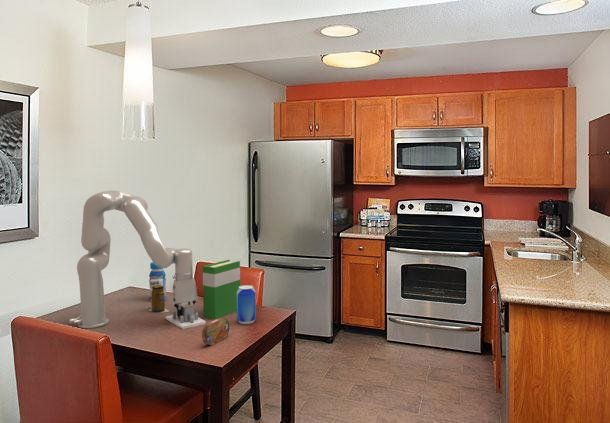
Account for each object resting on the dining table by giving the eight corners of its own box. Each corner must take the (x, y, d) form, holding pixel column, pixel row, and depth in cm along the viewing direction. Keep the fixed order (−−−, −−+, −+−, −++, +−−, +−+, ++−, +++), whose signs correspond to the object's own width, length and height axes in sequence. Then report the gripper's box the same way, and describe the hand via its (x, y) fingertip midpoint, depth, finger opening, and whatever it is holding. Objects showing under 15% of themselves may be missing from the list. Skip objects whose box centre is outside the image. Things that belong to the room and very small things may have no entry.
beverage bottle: (170, 299, 246) (168, 261, 244) (157, 303, 239) (156, 264, 237) (159, 296, 251) (158, 260, 249) (146, 300, 244) (145, 262, 242)
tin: (207, 348, 180) (206, 327, 179) (200, 346, 181) (200, 325, 181) (230, 335, 193) (229, 315, 193) (224, 334, 195) (223, 314, 194)
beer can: (238, 325, 205) (237, 290, 204) (236, 319, 213) (235, 285, 212) (257, 323, 208) (256, 288, 206) (254, 318, 216) (253, 284, 214)
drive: (185, 321, 206) (185, 307, 205) (176, 315, 213) (175, 302, 213) (194, 319, 208) (193, 305, 208) (184, 314, 216) (184, 300, 215)
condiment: (162, 307, 232) (161, 283, 231) (169, 311, 226) (168, 287, 225) (148, 310, 228) (147, 286, 227) (154, 314, 221) (154, 289, 220)
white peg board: (182, 329, 201) (182, 319, 200) (165, 318, 214) (165, 310, 214) (205, 323, 208) (205, 314, 207) (187, 314, 221) (187, 305, 221)
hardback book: (229, 307, 232) (228, 259, 230) (240, 309, 229) (239, 261, 226) (203, 316, 218) (202, 266, 215) (215, 319, 214) (214, 267, 211)
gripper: (169, 280, 201) (170, 322, 203) (204, 275, 211) (205, 314, 213) (162, 277, 207) (163, 318, 208) (197, 272, 217) (198, 310, 219)
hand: (184, 315), depth 211 cm, fingers closed on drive, 4 cm apart
